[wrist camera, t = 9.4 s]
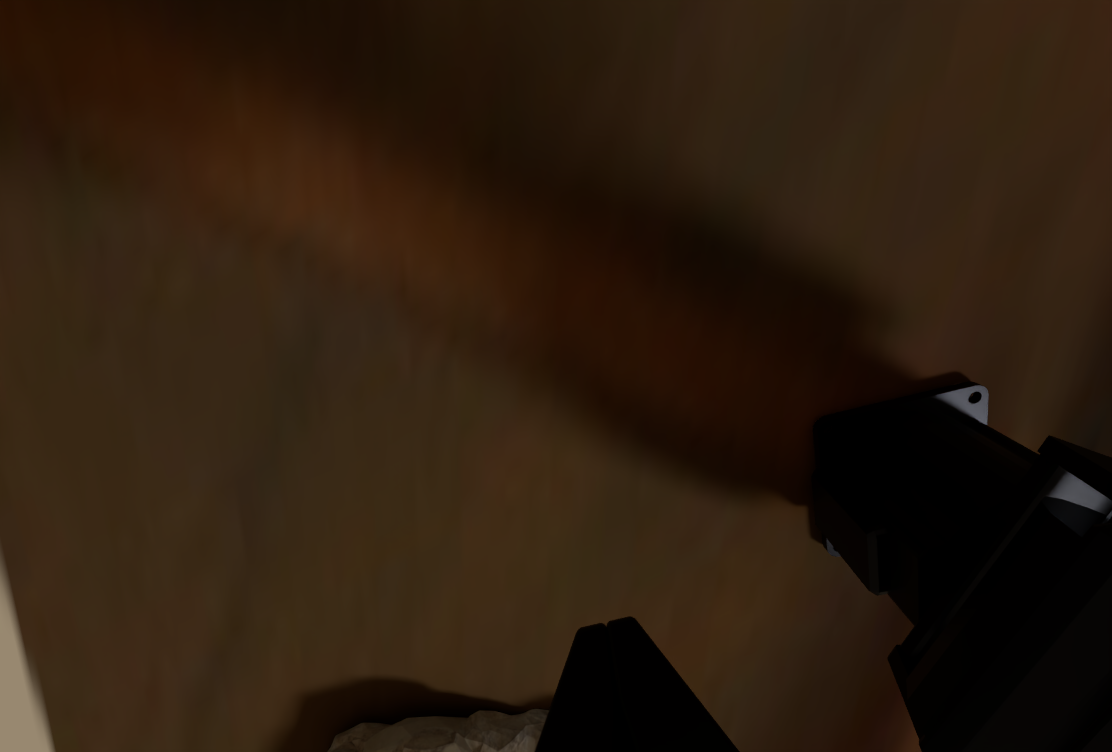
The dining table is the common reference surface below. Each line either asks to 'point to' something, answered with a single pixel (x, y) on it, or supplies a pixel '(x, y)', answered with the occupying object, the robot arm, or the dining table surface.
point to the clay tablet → (447, 734)
